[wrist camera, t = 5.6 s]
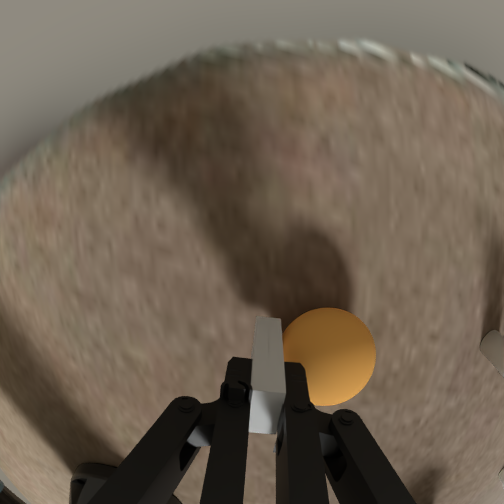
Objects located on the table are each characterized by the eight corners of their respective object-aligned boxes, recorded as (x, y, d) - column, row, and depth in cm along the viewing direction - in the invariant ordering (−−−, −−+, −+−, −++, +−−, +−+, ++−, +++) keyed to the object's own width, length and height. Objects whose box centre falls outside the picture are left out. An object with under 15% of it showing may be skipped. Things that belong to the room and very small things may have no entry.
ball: (266, 363, 21) (269, 423, 16) (282, 286, 20) (293, 335, 14) (346, 369, 21) (368, 425, 16) (369, 297, 20) (405, 343, 14)
